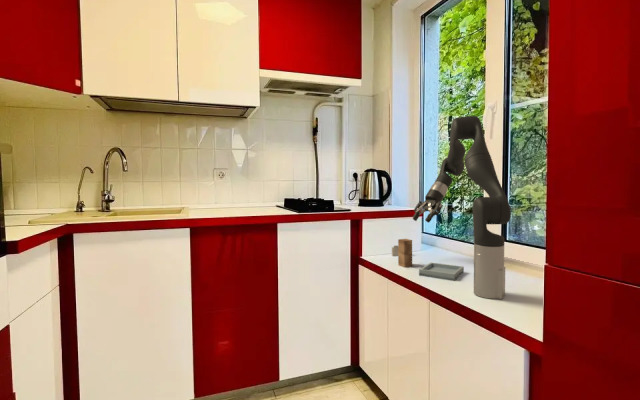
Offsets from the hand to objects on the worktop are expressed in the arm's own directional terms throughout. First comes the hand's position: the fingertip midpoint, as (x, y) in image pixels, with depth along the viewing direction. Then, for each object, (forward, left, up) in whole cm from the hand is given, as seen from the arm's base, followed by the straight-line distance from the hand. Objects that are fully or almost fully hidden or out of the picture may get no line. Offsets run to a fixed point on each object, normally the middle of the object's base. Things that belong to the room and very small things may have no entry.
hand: (420, 220), depth 162 cm
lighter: (+15, -9, -20) cm, 27 cm away
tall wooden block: (+4, +9, -20) cm, 22 cm away
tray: (-14, +14, -20) cm, 28 cm away
